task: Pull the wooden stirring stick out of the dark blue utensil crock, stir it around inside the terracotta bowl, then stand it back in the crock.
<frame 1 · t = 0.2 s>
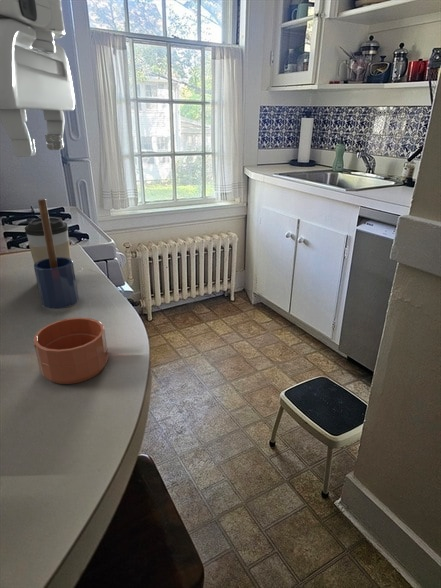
hand: (42, 152, 47), 32 cm above the table, tool pointing down, fingers open, 8 cm apart
coffee cup: (56, 282, 93), on the table
wooden stirring stick: (60, 300, 82), point 1 cm above the table, touching crock
bowl: (75, 366, 62), on the table
crock: (60, 303, 82), on the table
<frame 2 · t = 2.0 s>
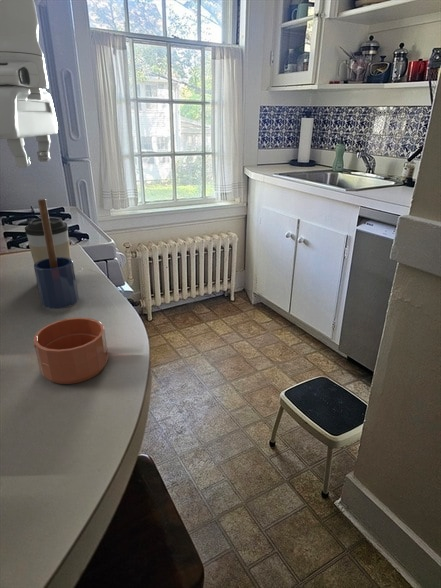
hand: (35, 164, 70), 28 cm above the table, tool pointing down, fingers open, 8 cm apart
nothing on the table moved.
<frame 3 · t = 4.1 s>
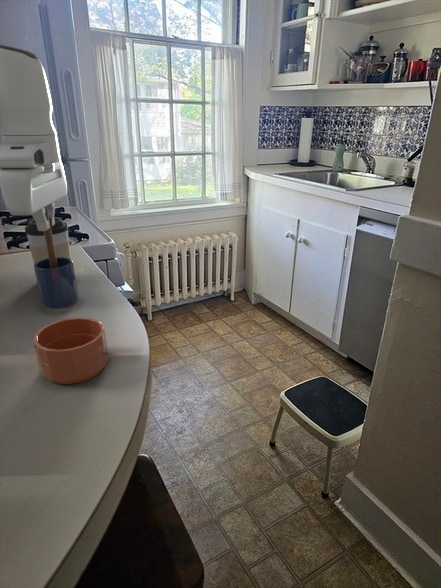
hand: (46, 228, 75), 16 cm above the table, tool pointing down, fingers closed on wooden stirring stick, 1 cm apart
wooden stirring stick: (60, 300, 82), point 1 cm above the table, touching crock, gripper
everything else where it was.
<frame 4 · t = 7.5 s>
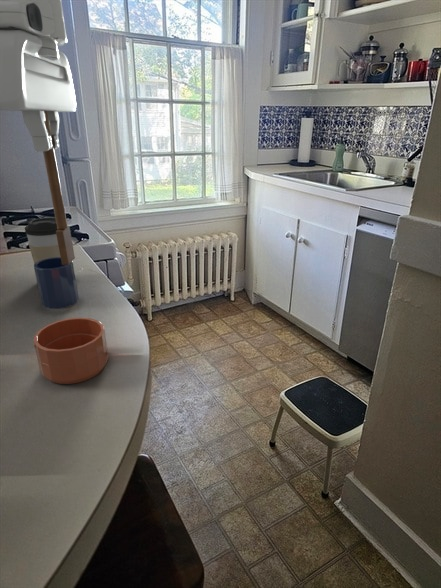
hand: (47, 150, 51), 32 cm above the table, tool pointing down, fingers closed on wooden stirring stick
wooden stirring stick: (68, 261, 58), point 16 cm above the table, touching gripper
everything else where it was.
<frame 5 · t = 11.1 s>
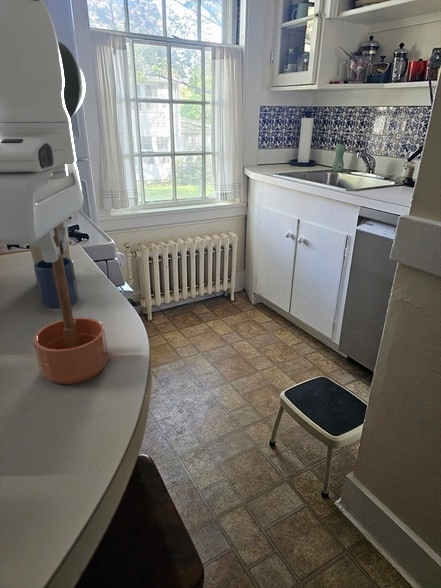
hand: (56, 257, 53), 18 cm above the table, tool pointing down, fingers closed on wooden stirring stick, 1 cm apart
wooden stirring stick: (74, 354, 59), point 3 cm above the table, touching gripper
everything else where it was.
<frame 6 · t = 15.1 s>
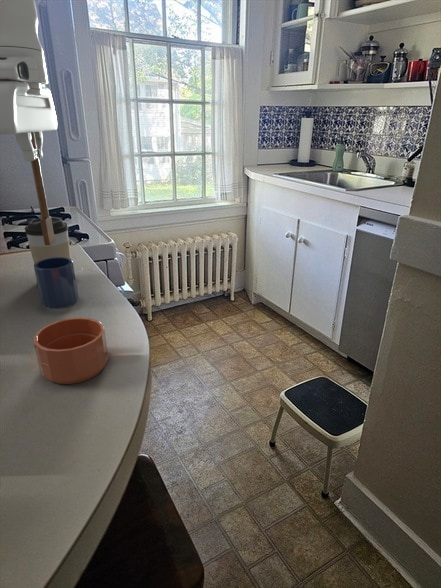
hand: (34, 159, 70), 29 cm above the table, tool pointing down, fingers closed on wooden stirring stick
wooden stirring stick: (50, 243, 76), point 13 cm above the table, touching gripper
everything else where it was.
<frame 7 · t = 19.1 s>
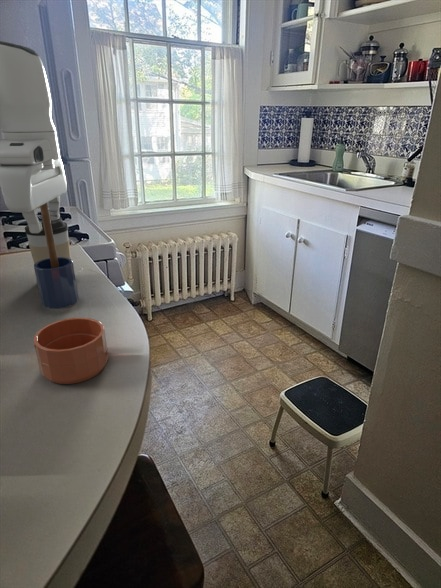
hand: (46, 225, 75), 17 cm above the table, tool pointing down, fingers open, 8 cm apart
wooden stirring stick: (61, 300, 82), point 1 cm above the table, touching crock
everything else where it was.
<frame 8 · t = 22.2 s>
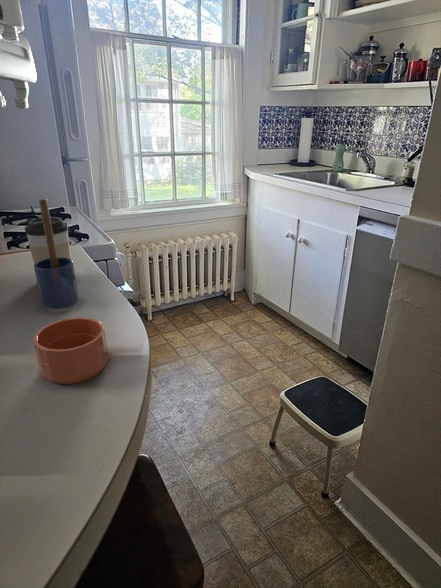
hand: (11, 108, 70), 37 cm above the table, tool pointing down, fingers open, 8 cm apart
nothing on the table moved.
at the end: wooden stirring stick 0.2 cm off-centre in the crock, point 0.6 cm above the crock's base; wooden stirring stick tilted 0°; bowl moved 0.0 cm from its start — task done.
